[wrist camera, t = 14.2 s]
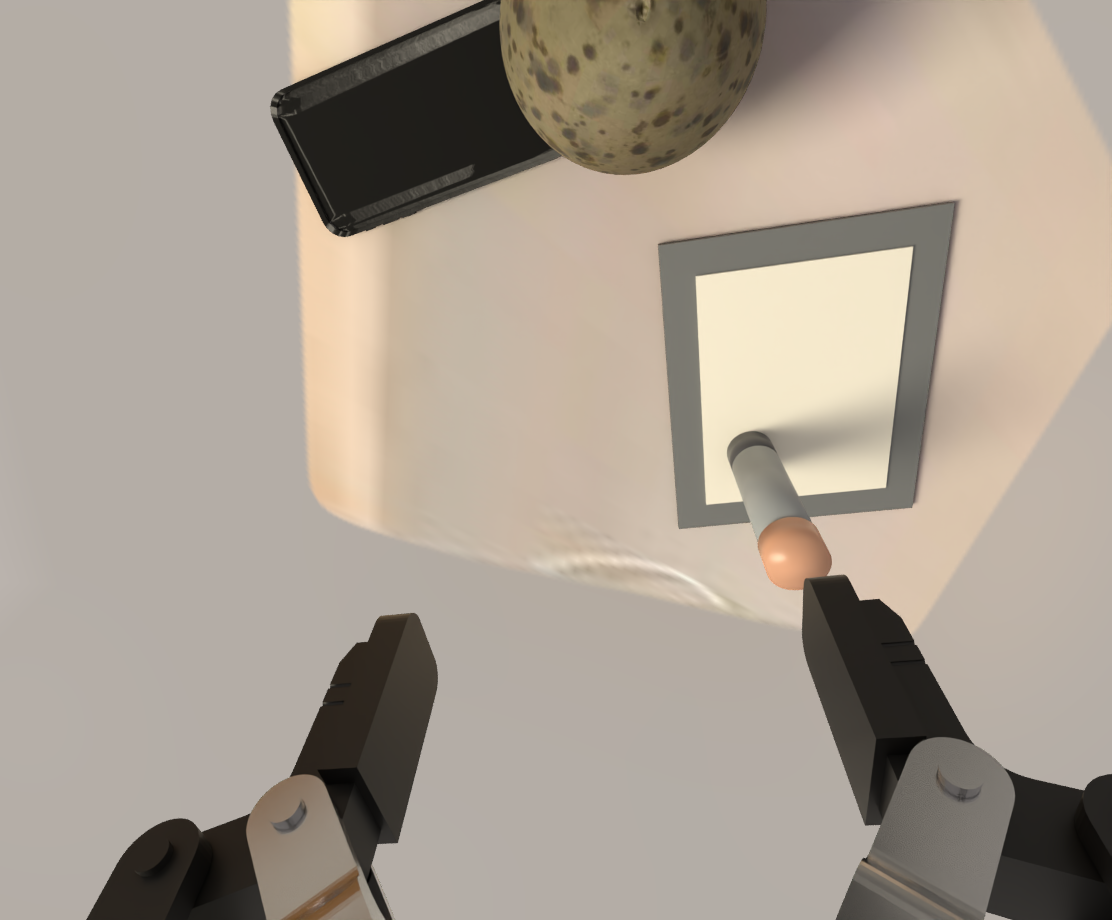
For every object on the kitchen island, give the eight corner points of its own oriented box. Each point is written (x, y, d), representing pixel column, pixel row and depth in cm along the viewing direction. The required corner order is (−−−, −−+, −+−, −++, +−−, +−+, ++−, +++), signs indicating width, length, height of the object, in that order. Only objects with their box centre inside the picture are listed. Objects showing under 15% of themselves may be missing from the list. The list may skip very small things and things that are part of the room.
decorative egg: (748, -93, 30) (867, -240, 17) (715, 163, 35) (786, 204, 22) (516, -94, 30) (455, -239, 17) (518, 159, 35) (474, 196, 22)
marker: (724, 432, 42) (766, 543, 32) (774, 427, 42) (833, 537, 32) (725, 473, 44) (766, 592, 33) (774, 469, 43) (830, 587, 33)
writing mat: (658, 244, 37) (658, 246, 37) (951, 201, 35) (956, 203, 35) (678, 525, 47) (679, 530, 46) (909, 504, 45) (913, 509, 44)
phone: (262, 97, 34) (527, -20, 31) (271, 98, 35) (529, -16, 32) (333, 244, 38) (578, 152, 34) (340, 240, 39) (578, 151, 35)
